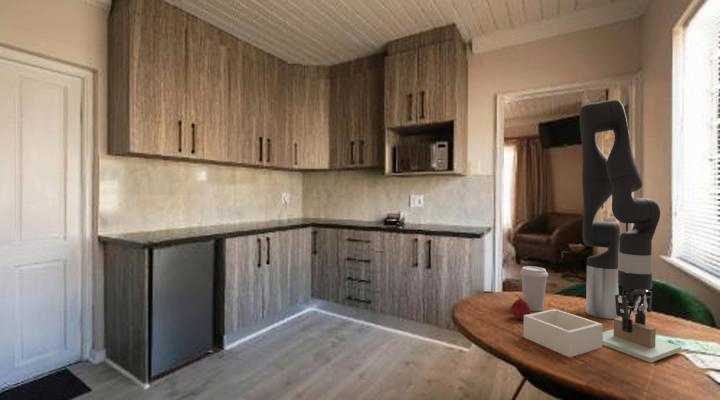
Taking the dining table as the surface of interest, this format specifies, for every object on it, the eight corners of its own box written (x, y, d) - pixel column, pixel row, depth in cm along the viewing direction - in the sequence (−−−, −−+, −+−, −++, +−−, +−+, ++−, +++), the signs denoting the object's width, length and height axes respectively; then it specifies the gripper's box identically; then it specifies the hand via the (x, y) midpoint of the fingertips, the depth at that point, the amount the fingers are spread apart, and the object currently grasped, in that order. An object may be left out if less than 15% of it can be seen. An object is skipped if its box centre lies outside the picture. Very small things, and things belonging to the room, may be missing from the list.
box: (555, 331, 109) (555, 308, 109) (602, 349, 96) (602, 324, 96) (523, 339, 103) (523, 315, 103) (569, 359, 90) (569, 332, 90)
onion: (532, 324, 114) (532, 300, 114) (513, 323, 116) (514, 299, 115) (527, 318, 120) (527, 295, 120) (509, 316, 121) (510, 294, 121)
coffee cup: (553, 312, 126) (553, 271, 125) (526, 312, 126) (526, 271, 126) (539, 304, 135) (540, 265, 135) (515, 304, 135) (515, 265, 135)
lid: (619, 334, 107) (620, 311, 107) (681, 354, 94) (681, 328, 94) (589, 343, 101) (589, 318, 101) (650, 366, 87) (650, 338, 87)
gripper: (634, 265, 103) (633, 321, 104) (604, 269, 97) (603, 329, 97) (664, 270, 97) (663, 330, 97) (635, 275, 90) (634, 339, 91)
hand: (633, 329), depth 97 cm, fingers open, 6 cm apart
